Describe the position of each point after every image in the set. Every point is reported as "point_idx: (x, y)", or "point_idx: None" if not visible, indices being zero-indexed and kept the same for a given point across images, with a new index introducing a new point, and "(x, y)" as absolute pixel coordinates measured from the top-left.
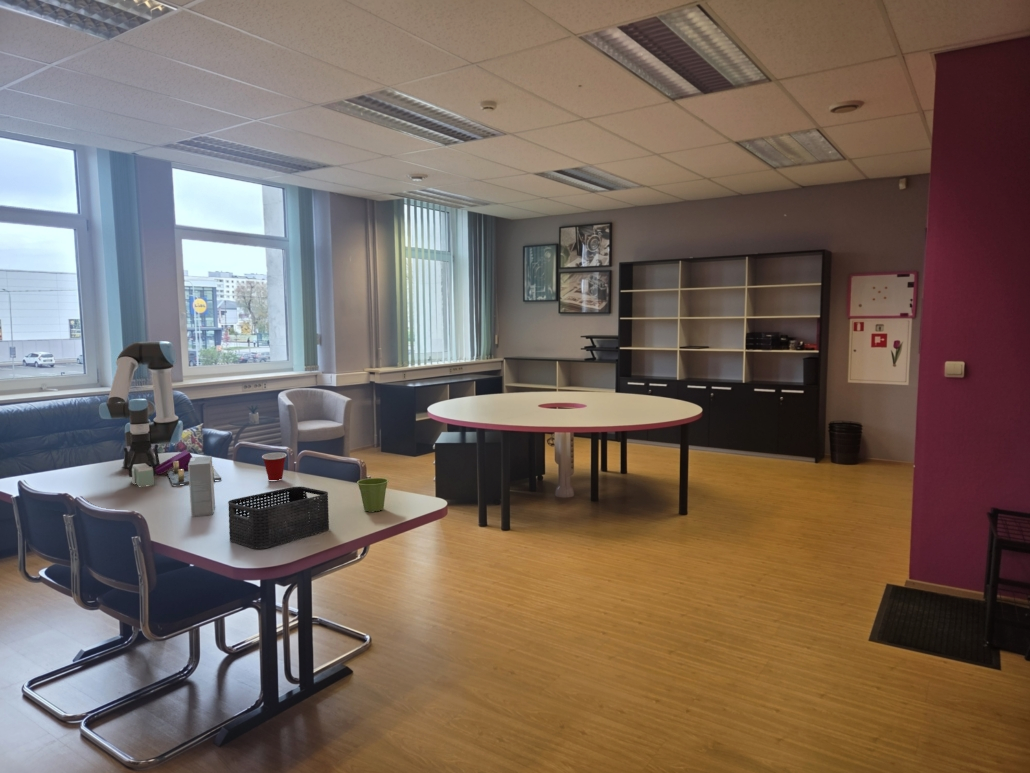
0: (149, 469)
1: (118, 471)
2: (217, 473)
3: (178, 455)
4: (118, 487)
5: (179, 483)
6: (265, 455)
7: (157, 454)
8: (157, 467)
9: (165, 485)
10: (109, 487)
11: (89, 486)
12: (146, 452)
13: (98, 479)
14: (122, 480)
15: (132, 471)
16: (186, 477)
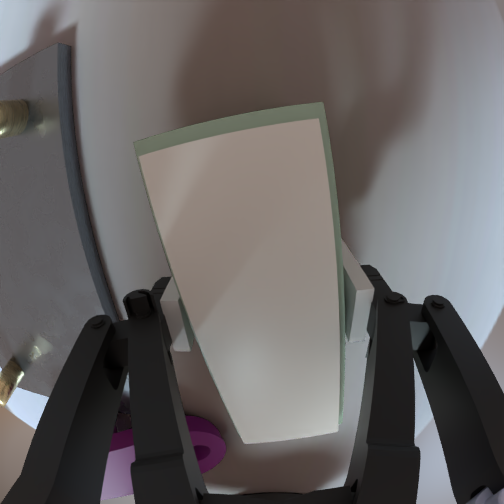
0: (172, 147)
1: (333, 478)
2: None
3: (112, 485)
4: (417, 206)
5: (32, 59)
6: None
7: (45, 418)
8: (201, 459)
9: (108, 95)
10: (451, 238)
11: (490, 312)
12: (171, 494)
13: (419, 416)
14: (360, 382)
15: (364, 282)
16: (6, 204)
